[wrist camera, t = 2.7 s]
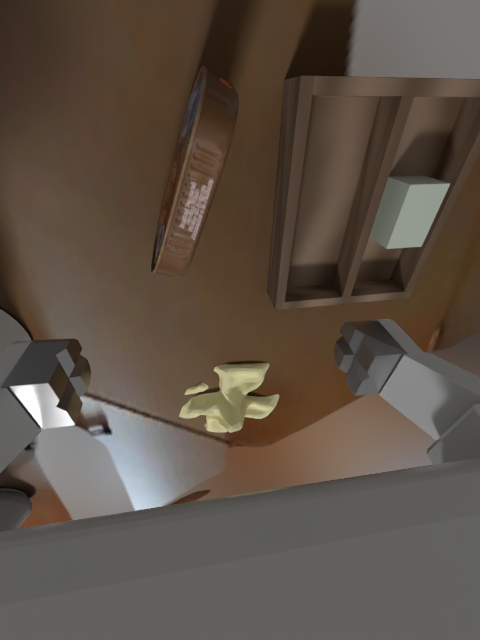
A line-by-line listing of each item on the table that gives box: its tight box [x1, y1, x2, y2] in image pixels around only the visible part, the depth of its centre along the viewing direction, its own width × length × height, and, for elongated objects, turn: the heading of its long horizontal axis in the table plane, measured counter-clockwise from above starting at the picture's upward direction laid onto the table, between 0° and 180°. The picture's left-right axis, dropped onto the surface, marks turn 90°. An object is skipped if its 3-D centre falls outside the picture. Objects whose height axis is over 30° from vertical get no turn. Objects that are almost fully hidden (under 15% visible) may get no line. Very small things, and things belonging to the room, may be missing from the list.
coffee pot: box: [0, 489, 32, 532], centre depth 50 cm, size 21×12×15 cm, turn 119°
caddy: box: [267, 76, 480, 310], centre depth 27 cm, size 17×20×4 cm
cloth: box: [179, 363, 279, 432], centre depth 45 cm, size 22×19×6 cm
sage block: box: [370, 176, 451, 249], centre depth 27 cm, size 4×6×4 cm, turn 0°
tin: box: [151, 65, 238, 278], centre depth 21 cm, size 15×3×8 cm, turn 156°
